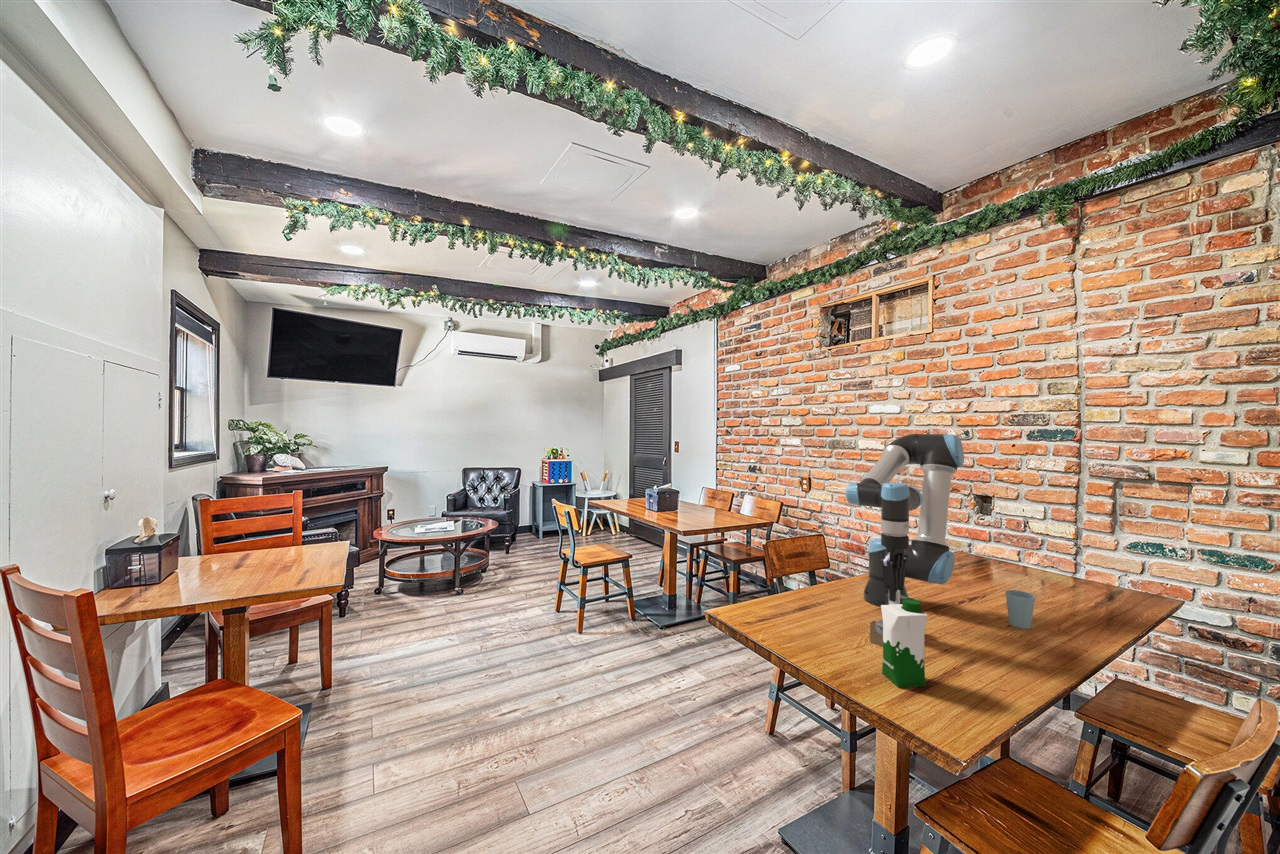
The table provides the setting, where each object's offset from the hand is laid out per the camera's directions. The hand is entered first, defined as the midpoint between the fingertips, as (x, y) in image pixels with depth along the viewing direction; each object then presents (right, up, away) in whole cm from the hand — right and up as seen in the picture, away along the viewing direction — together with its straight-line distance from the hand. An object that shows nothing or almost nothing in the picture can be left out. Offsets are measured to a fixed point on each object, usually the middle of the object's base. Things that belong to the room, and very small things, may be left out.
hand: (894, 611), depth 146 cm
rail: (0, -8, 0) cm, 8 cm away
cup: (+47, -9, +10) cm, 49 cm away
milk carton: (-11, -9, -24) cm, 28 cm away
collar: (+3, -8, +2) cm, 9 cm away
